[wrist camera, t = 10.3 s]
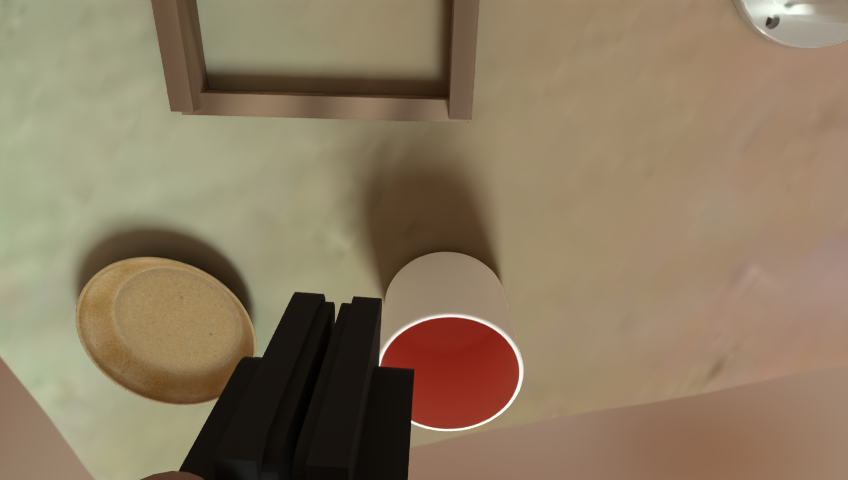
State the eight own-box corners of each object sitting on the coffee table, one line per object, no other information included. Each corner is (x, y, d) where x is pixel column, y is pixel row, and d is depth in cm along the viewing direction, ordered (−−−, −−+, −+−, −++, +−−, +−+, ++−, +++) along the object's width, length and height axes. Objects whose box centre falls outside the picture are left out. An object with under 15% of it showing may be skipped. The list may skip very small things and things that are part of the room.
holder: (481, -104, 31) (486, -114, 29) (467, 118, 37) (470, 127, 34) (155, -114, 31) (129, -125, 29) (191, 110, 37) (172, 118, 34)
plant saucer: (71, 245, 42) (49, 259, 40) (250, 241, 42) (239, 255, 39) (120, 388, 48) (104, 407, 46) (276, 385, 48) (268, 405, 45)
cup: (366, 270, 42) (349, 342, 33) (480, 228, 41) (495, 292, 32) (413, 360, 46) (410, 448, 37) (519, 325, 45) (542, 407, 36)
